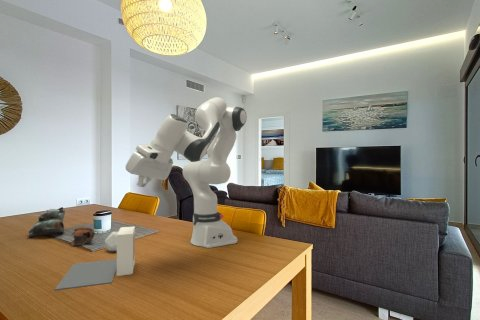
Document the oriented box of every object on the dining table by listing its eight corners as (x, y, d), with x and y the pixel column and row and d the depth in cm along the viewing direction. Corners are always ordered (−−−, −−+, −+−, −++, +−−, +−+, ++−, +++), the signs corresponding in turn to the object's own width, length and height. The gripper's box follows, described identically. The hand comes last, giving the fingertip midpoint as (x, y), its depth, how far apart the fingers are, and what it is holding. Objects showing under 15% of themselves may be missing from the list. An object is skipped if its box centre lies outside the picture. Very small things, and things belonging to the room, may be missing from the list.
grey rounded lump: (20, 238, 128) (26, 207, 135) (46, 241, 139) (51, 213, 146) (46, 230, 124) (52, 199, 131) (71, 234, 136) (75, 206, 143)
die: (112, 256, 107) (128, 236, 110) (96, 245, 108) (112, 225, 111) (120, 256, 115) (135, 237, 117) (105, 246, 116) (120, 227, 119)
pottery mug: (63, 247, 117) (68, 229, 121) (81, 250, 125) (84, 233, 129) (85, 242, 115) (88, 224, 119) (101, 246, 122) (104, 228, 127)
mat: (119, 259, 102) (119, 258, 102) (111, 282, 83) (111, 282, 83) (74, 264, 97) (74, 263, 97) (54, 290, 78) (54, 289, 78)
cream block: (135, 262, 99) (135, 226, 99) (133, 274, 90) (133, 233, 90) (120, 264, 98) (120, 227, 98) (116, 276, 88) (116, 235, 88)
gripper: (169, 156, 108) (152, 184, 108) (134, 143, 89) (114, 178, 89) (179, 163, 106) (163, 192, 106) (146, 152, 87) (125, 188, 87)
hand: (140, 186), depth 97 cm, fingers closed
